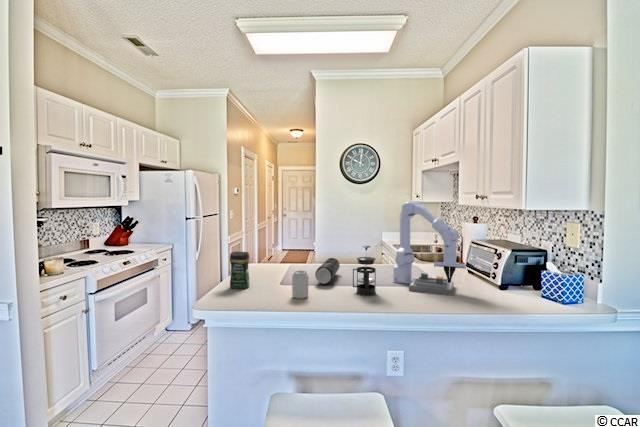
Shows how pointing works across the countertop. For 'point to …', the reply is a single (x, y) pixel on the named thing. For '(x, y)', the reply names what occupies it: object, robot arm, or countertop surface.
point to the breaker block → (431, 285)
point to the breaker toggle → (439, 280)
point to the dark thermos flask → (327, 271)
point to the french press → (365, 276)
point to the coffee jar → (239, 270)
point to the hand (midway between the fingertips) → (449, 282)
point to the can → (300, 284)
